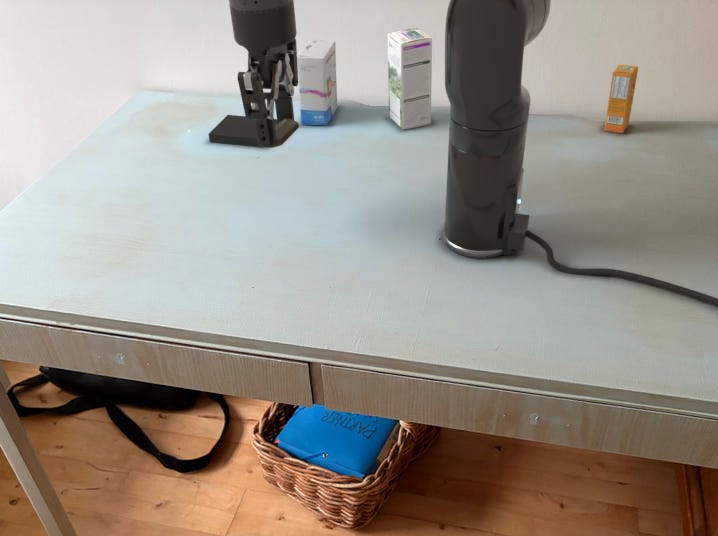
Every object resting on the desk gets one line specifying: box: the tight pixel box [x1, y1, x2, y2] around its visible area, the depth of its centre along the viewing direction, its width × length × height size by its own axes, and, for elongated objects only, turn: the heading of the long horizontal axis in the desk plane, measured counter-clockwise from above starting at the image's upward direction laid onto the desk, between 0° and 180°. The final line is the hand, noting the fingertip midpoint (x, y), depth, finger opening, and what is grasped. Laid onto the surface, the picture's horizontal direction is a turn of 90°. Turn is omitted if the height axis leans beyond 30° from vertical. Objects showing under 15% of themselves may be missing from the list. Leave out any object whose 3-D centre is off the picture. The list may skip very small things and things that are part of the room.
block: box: [258, 118, 300, 149], centre depth 98 cm, size 4×6×2 cm, turn 155°
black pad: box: [208, 114, 278, 148], centre depth 127 cm, size 10×8×2 cm
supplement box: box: [603, 64, 639, 134], centre depth 121 cm, size 3×3×10 cm
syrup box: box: [387, 27, 433, 130], centre depth 125 cm, size 6×6×14 cm
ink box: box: [297, 39, 338, 127], centre depth 129 cm, size 9×5×12 cm, turn 168°
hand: (277, 134), depth 98 cm, fingers closed on block, 6 cm apart
